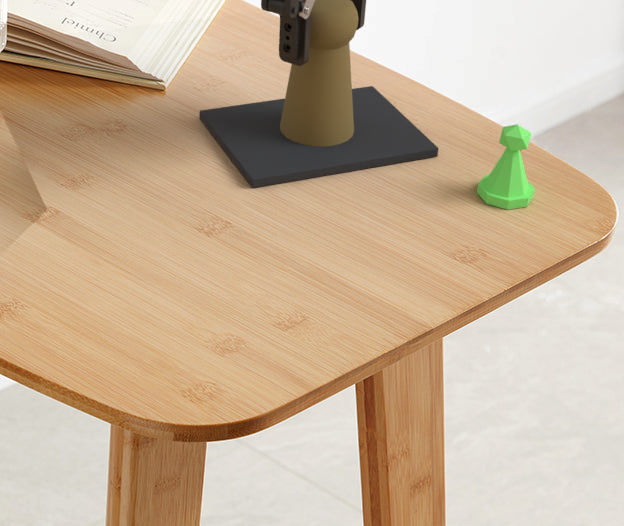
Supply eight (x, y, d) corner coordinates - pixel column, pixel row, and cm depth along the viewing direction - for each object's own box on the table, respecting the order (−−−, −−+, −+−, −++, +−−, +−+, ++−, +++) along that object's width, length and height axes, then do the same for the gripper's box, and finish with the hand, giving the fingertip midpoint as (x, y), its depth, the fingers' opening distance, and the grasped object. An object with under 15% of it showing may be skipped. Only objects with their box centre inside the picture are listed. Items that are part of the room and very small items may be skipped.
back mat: (252, 188, 85) (252, 179, 85) (199, 118, 94) (199, 110, 93) (437, 156, 91) (439, 147, 90) (371, 93, 100) (372, 85, 99)
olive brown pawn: (269, 137, 90) (274, 4, 84) (293, 106, 95) (300, -22, 88) (341, 152, 89) (352, 18, 82) (363, 120, 94) (375, -9, 87)
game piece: (544, 198, 87) (559, 127, 83) (508, 215, 84) (521, 143, 81) (501, 175, 89) (514, 105, 85) (465, 191, 87) (476, 120, 83)
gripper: (341, -204, 85) (327, 5, 94) (233, -170, 74) (230, 61, 84) (431, -187, 82) (407, 28, 91) (331, -148, 72) (316, 89, 81)
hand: (322, 44), depth 88 cm, fingers open, 8 cm apart
